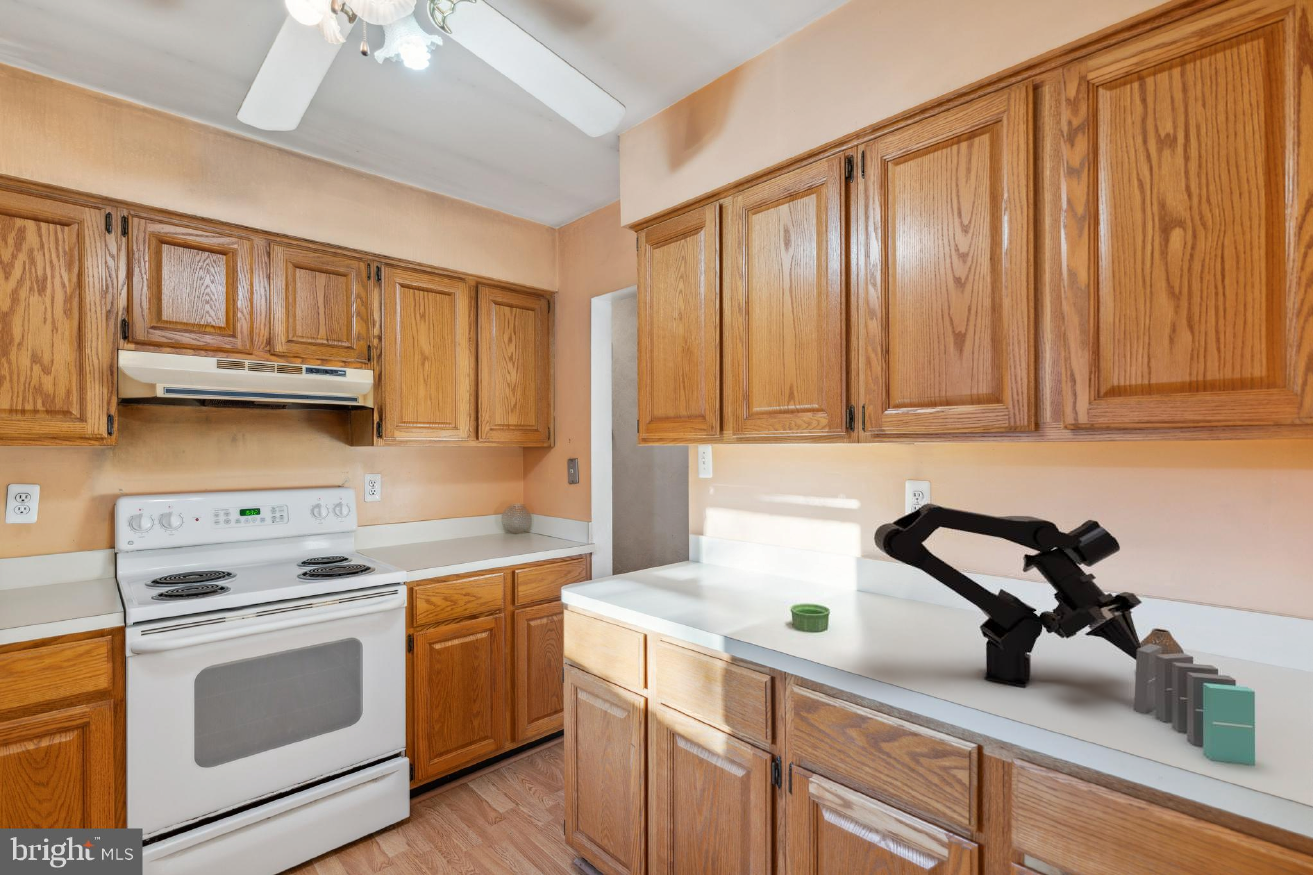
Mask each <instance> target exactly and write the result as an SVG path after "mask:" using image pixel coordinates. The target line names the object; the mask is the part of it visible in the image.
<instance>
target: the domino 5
mask: <svg viewBox="0 0 1313 875" xmlns="http://www.w3.org/2000/svg"><path fill="white" fill-rule="evenodd" d="M1255 692H1256V691H1254V689H1253V690H1252V689H1251V688H1249V687H1248V686H1241V685H1236V686H1231V685H1219V684H1208V683H1203V747H1202V750H1203V751H1202V754H1203V755H1204V756H1205V757H1206V758H1207V759H1209V761H1215V762H1224V763H1231V764H1232V763H1233V764H1240V763H1241V765H1250V766H1255V765H1256V721H1255V720H1256V694H1255Z"/></svg>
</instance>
